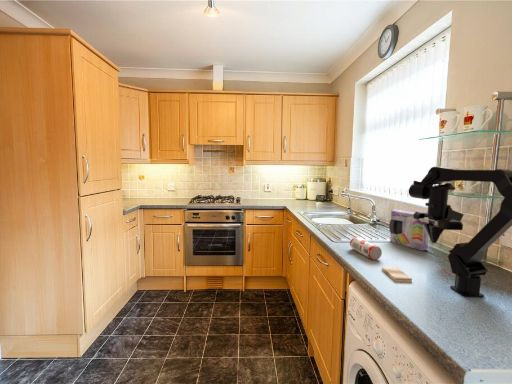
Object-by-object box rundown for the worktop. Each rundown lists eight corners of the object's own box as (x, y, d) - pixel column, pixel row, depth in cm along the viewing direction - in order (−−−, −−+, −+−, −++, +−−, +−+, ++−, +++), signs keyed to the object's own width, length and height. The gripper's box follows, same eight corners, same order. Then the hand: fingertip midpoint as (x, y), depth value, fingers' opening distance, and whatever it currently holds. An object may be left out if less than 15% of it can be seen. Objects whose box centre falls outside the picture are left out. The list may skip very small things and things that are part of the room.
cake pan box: (387, 240, 144) (389, 209, 142) (394, 239, 146) (396, 208, 144) (421, 251, 127) (424, 215, 125) (428, 250, 129) (431, 215, 127)
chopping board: (411, 281, 94) (412, 278, 94) (394, 281, 94) (395, 278, 94) (397, 270, 104) (397, 267, 104) (381, 270, 104) (382, 267, 104)
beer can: (369, 260, 113) (347, 248, 128) (381, 261, 115) (358, 249, 130) (372, 246, 113) (350, 236, 128) (384, 247, 114) (360, 237, 130)
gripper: (481, 205, 86) (476, 251, 88) (442, 198, 105) (438, 236, 107) (447, 205, 86) (443, 251, 88) (414, 197, 105) (411, 235, 107)
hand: (433, 242), depth 97 cm, fingers closed
